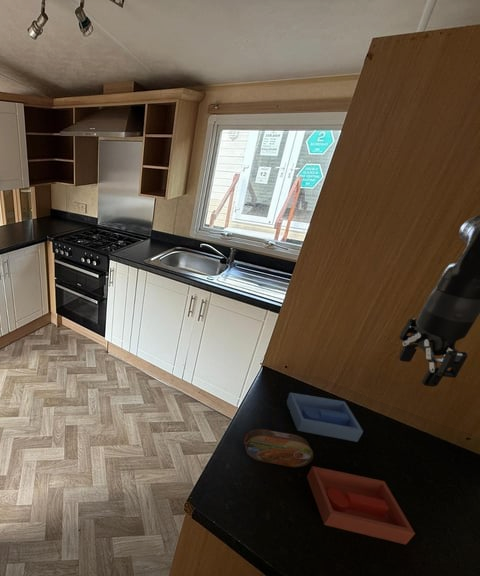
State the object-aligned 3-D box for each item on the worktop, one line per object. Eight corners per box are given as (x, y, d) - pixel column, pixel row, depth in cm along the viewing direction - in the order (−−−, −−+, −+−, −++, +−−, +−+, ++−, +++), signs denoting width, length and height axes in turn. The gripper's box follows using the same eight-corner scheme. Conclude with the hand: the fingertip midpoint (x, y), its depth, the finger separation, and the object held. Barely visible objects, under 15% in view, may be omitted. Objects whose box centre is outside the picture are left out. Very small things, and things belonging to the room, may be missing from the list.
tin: (242, 457, 79) (249, 434, 75) (240, 446, 82) (247, 424, 78) (308, 471, 76) (319, 448, 72) (303, 459, 79) (314, 436, 75)
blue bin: (340, 411, 93) (345, 401, 91) (357, 442, 83) (363, 431, 81) (286, 402, 96) (289, 392, 94) (297, 430, 86) (301, 420, 85)
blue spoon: (341, 418, 90) (345, 410, 88) (347, 429, 86) (351, 421, 85) (299, 410, 92) (302, 403, 91) (304, 421, 88) (307, 414, 87)
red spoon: (376, 503, 69) (381, 495, 68) (386, 522, 65) (392, 514, 64) (321, 491, 71) (325, 482, 70) (328, 509, 68) (333, 501, 66)
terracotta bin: (377, 492, 72) (384, 481, 70) (406, 544, 62) (415, 533, 61) (306, 476, 75) (311, 465, 73) (324, 524, 66) (330, 513, 64)
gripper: (503, 332, 58) (458, 397, 65) (446, 297, 70) (414, 355, 77) (453, 327, 59) (415, 391, 66) (406, 294, 72) (379, 351, 79)
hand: (415, 372), depth 72 cm, fingers open, 8 cm apart
